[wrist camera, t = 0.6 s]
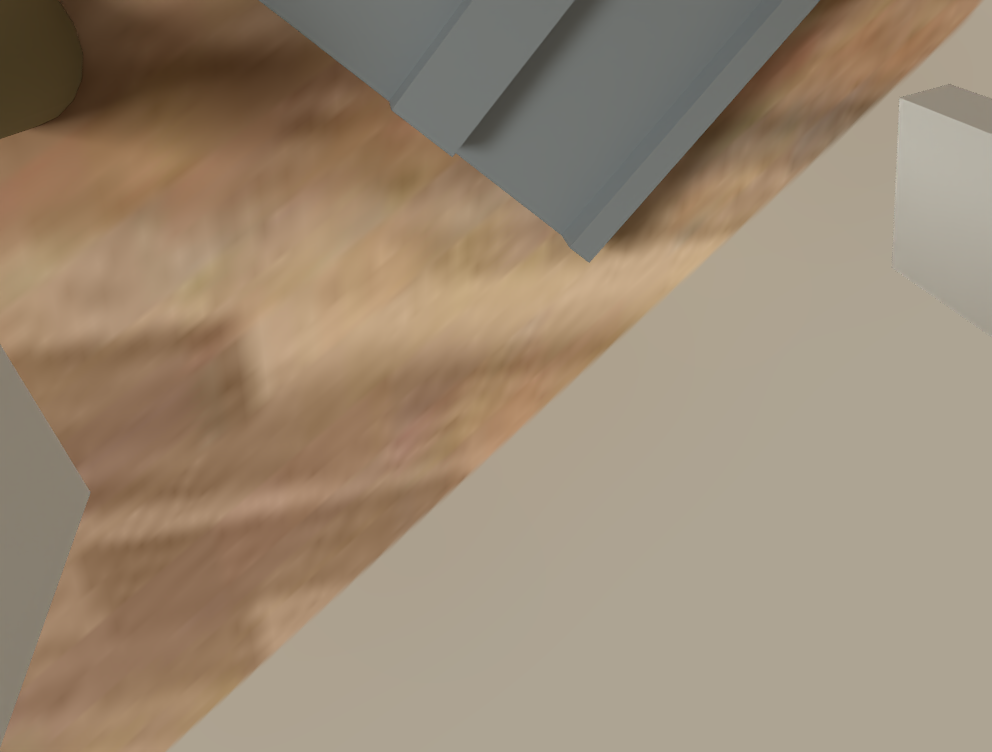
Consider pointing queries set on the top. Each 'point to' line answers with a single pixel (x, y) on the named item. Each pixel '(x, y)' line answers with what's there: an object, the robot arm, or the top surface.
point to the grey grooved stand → (556, 87)
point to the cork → (36, 63)
